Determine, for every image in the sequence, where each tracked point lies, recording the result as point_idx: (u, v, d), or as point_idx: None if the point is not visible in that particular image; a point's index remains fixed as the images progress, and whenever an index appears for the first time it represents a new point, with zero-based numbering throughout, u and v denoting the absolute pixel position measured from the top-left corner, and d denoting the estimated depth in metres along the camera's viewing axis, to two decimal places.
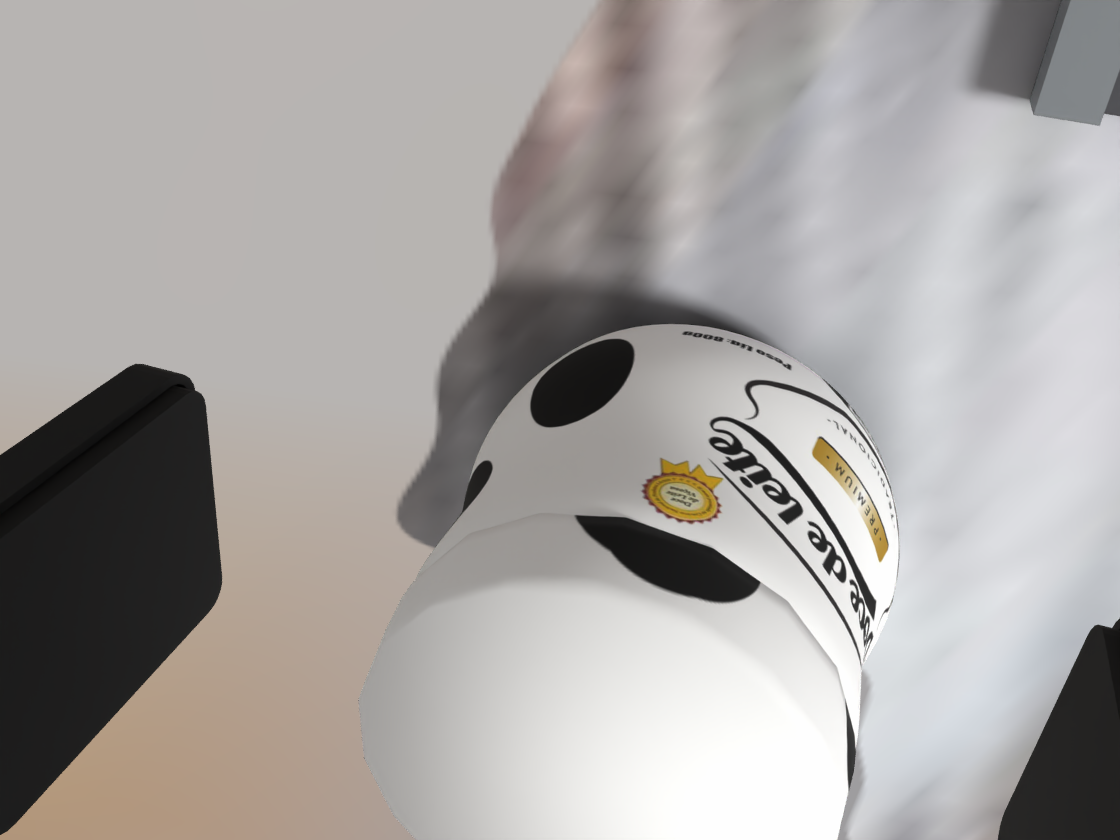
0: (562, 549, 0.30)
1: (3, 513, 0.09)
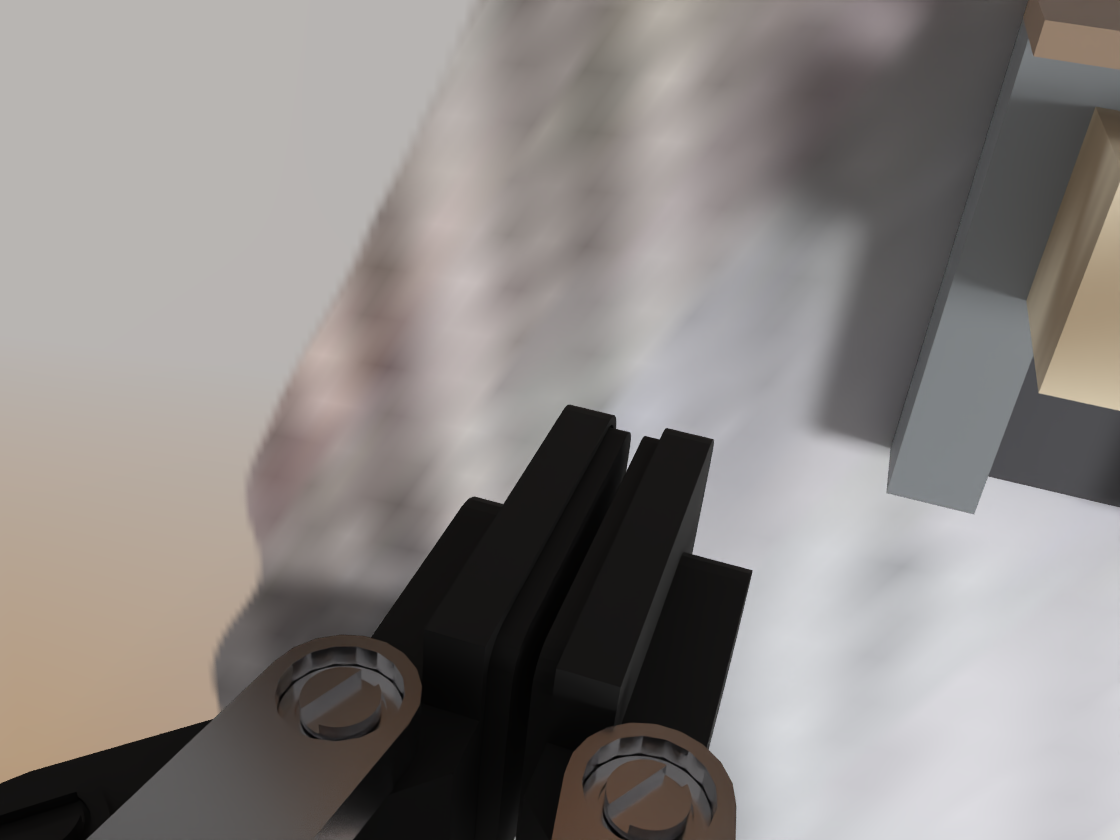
0: None
1: (535, 562, 0.09)
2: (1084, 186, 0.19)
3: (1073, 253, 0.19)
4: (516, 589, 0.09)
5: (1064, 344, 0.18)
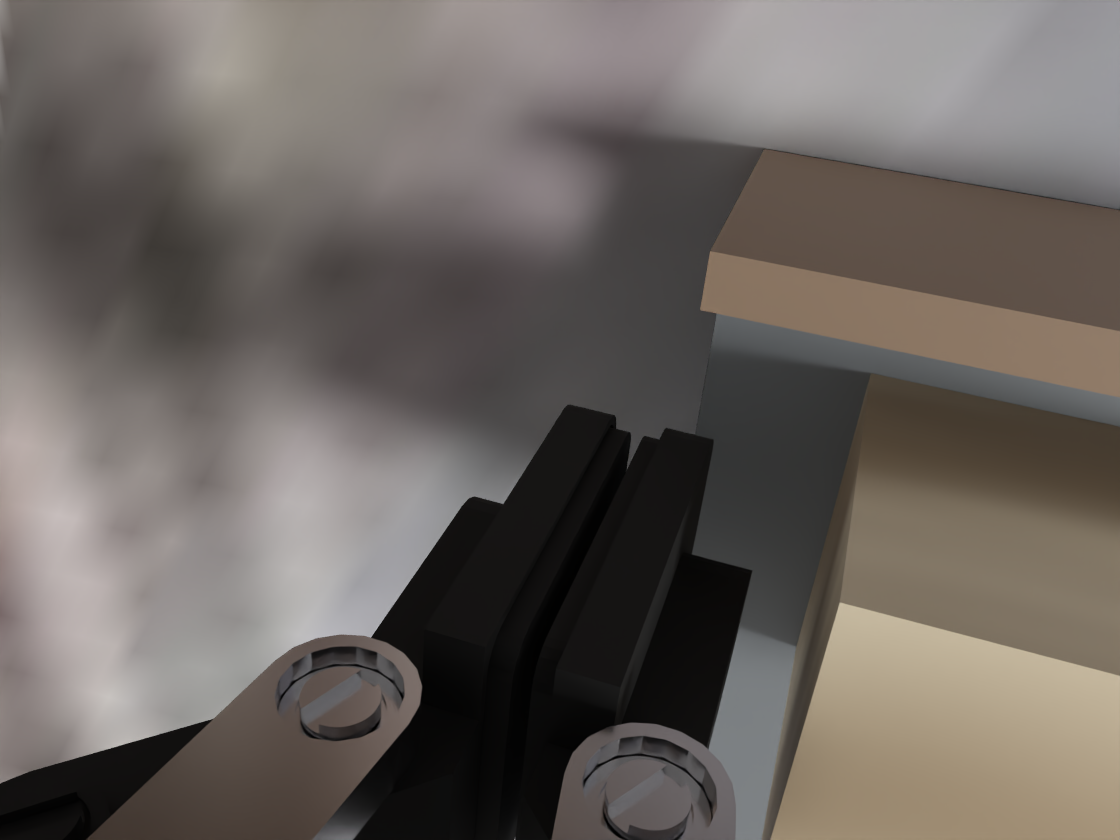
0: None
1: (534, 562, 0.09)
2: (837, 529, 0.11)
3: (808, 665, 0.10)
4: (516, 589, 0.09)
5: None
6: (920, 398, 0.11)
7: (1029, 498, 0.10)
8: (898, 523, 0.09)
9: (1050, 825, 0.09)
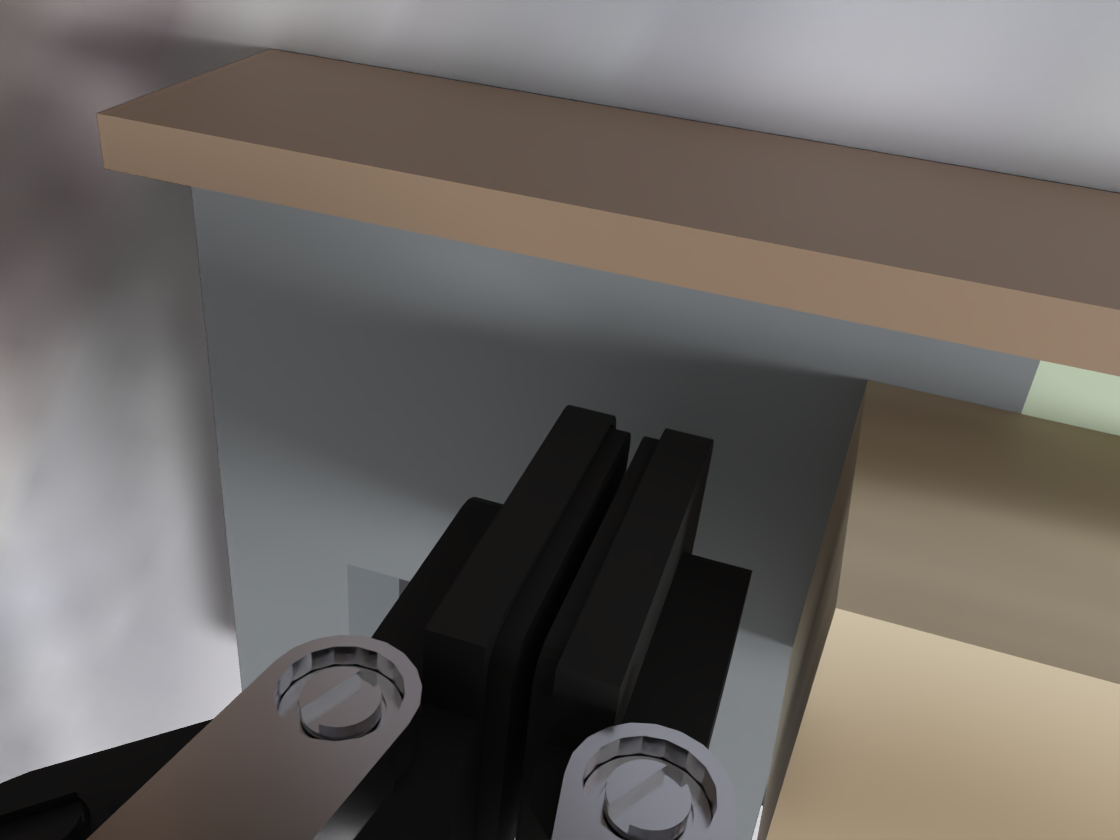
0: None
1: (535, 562, 0.09)
2: (834, 534, 0.11)
3: (804, 667, 0.11)
4: (516, 589, 0.09)
5: None
6: (916, 405, 0.11)
7: (1022, 505, 0.10)
8: (894, 529, 0.09)
9: (1040, 825, 0.09)
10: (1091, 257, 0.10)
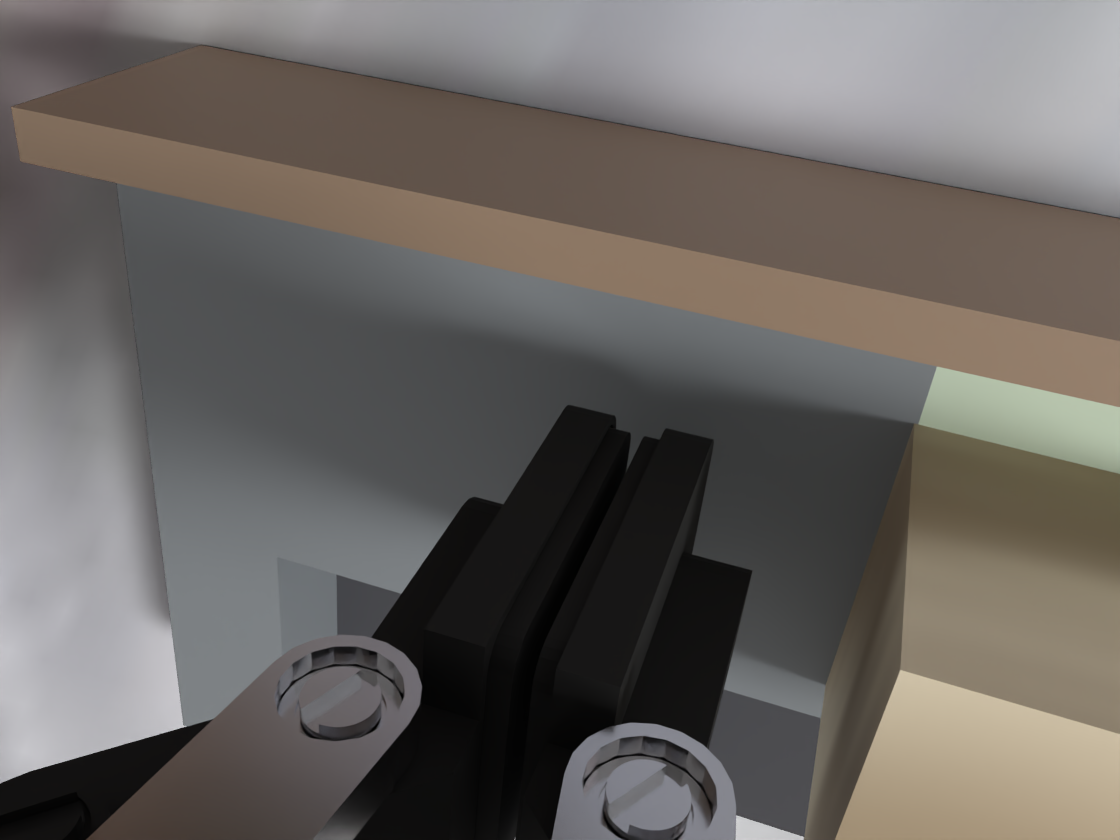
0: None
1: (535, 562, 0.09)
2: (881, 581, 0.11)
3: (852, 716, 0.10)
4: (516, 589, 0.09)
5: None
6: (964, 451, 0.11)
7: (1077, 560, 0.10)
8: (951, 585, 0.09)
9: None
10: (980, 263, 0.10)
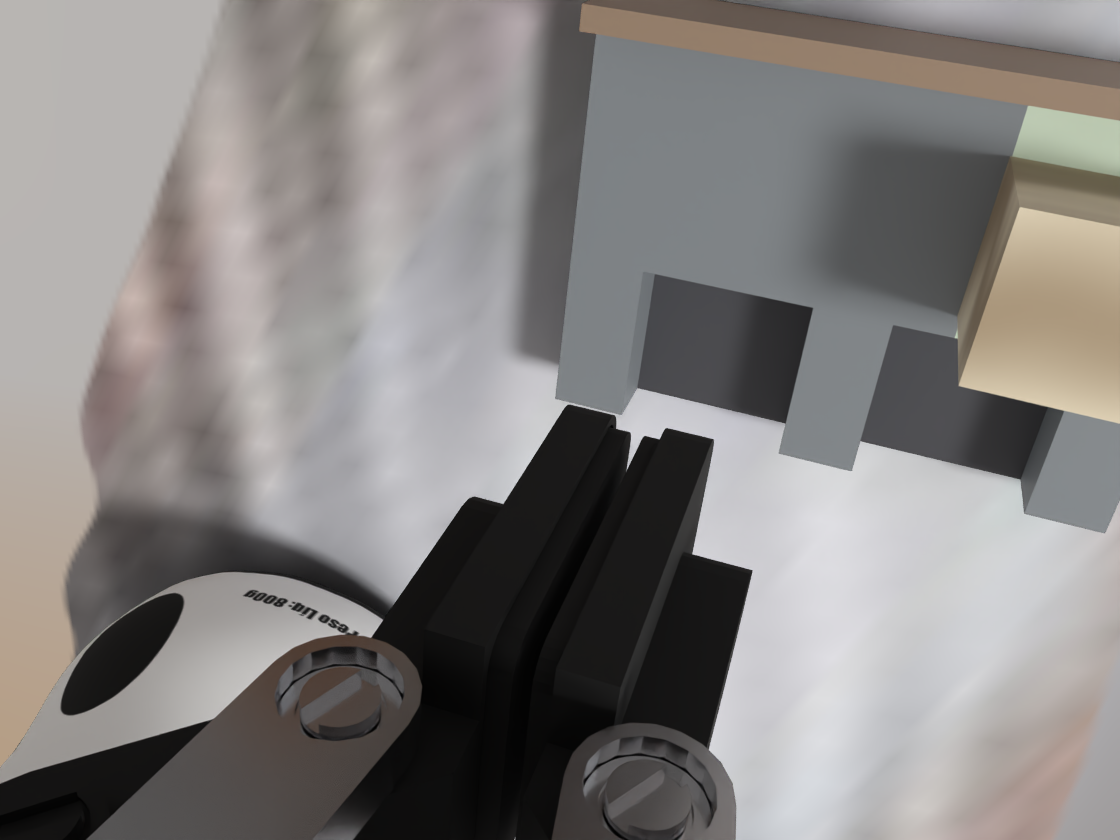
0: None
1: (535, 562, 0.09)
2: (998, 219, 0.23)
3: (987, 273, 0.23)
4: (518, 590, 0.09)
5: (977, 345, 0.22)
6: (1035, 164, 0.24)
7: (1089, 191, 0.22)
8: (1036, 193, 0.22)
9: (1099, 308, 0.21)
10: (1044, 67, 0.23)
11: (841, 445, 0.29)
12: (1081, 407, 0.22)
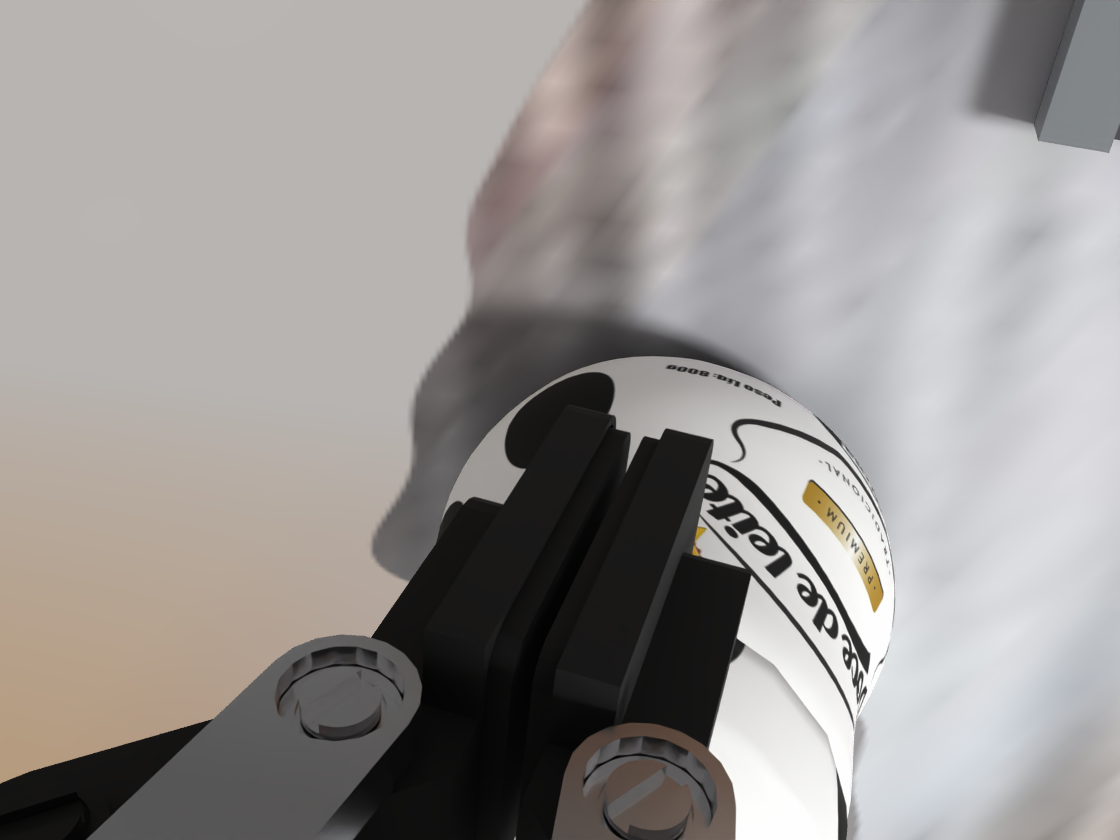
0: None
1: (534, 562, 0.09)
2: None
3: None
4: (516, 589, 0.09)
5: None
6: None
7: None
8: None
9: None
10: None
11: None
12: None
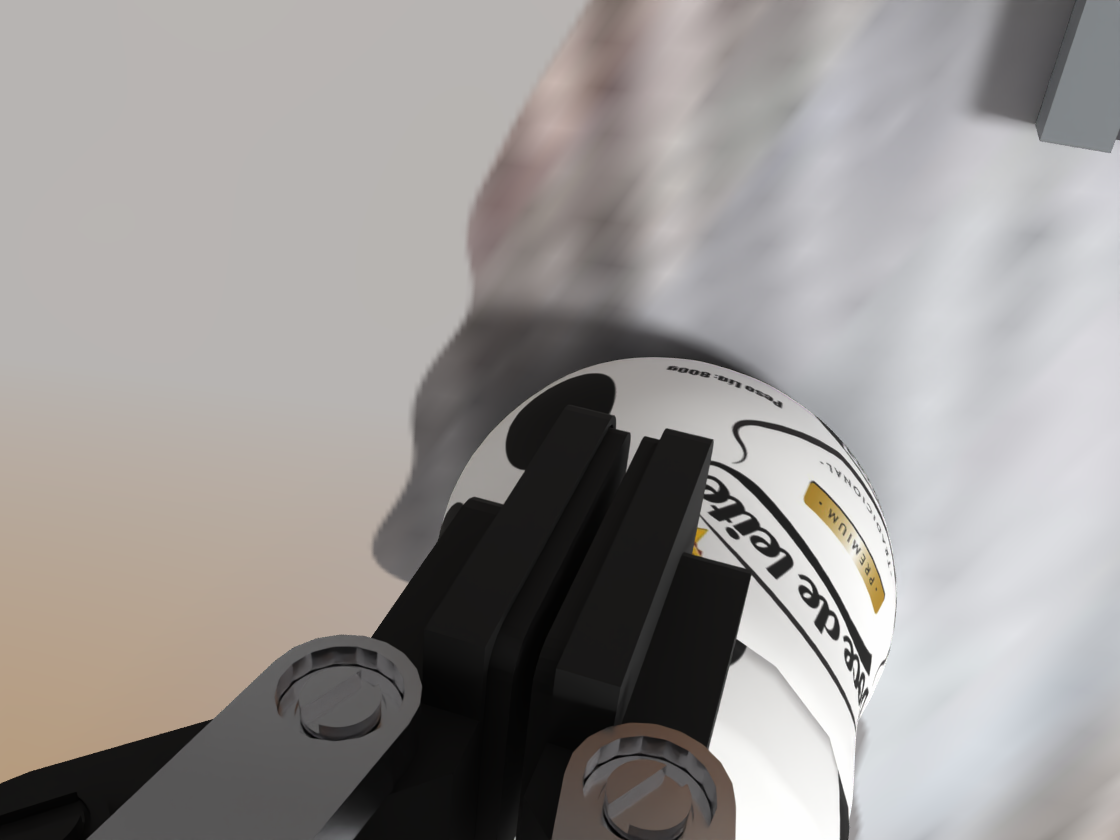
0: None
1: (534, 562, 0.09)
2: None
3: None
4: (516, 589, 0.09)
5: None
6: None
7: None
8: None
9: None
10: None
11: None
12: None
